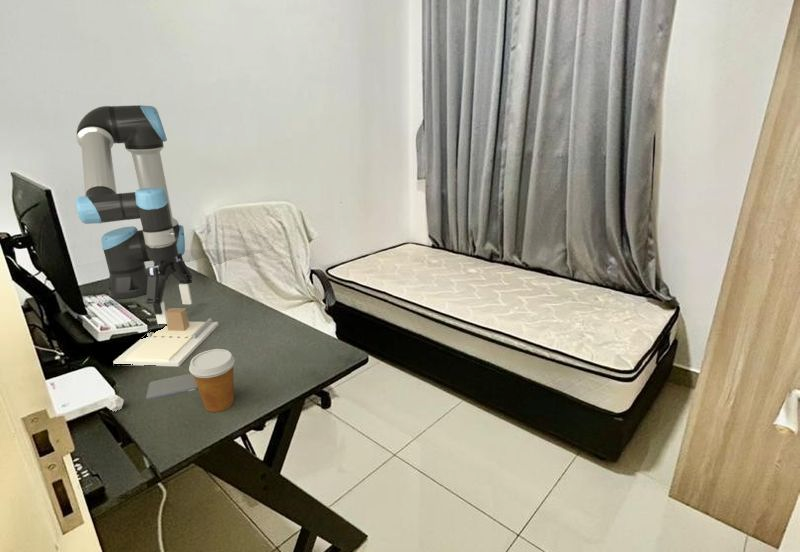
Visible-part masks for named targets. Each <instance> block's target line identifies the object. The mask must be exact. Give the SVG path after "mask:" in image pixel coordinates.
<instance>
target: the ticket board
mask: <svg viewBox="0 0 800 552" xmlns="http://www.w3.org/2000/svg"><path fill="white" fill-rule="evenodd" d="M189 323H204V324H203V325H202V326H201V327H200V328H199V329H198V330H197V331H196V332H195V333H194V334H193V335H192V337H172V336H170V337H165V336H152V334H153V333H154V332H150V331H149V332H150V333H149V332H147V333H146V334H147V336H148V337H146V338H143V337H142V338H143V339H141V338H140V339H139V340H137V341H136V342H135V343H134V344H132V345H131V346H130V347H129V348H127V349H126V350H125V351H124V352H123V353H122V354H121V355H119V356H118V357H117V358H115V359H114V360H113V361H112V362H113V365H114V364H131V365H130V366H144V365H156V366H155V367H181V364H182V363H184V362H185V360H186V359H187V358H188V357H190V355H191V354H193V352H194V351H195V350H196V349H197V348H198V347H199V346H200V345H201V344H202V343H203V342H204V341H206V339H207V338H208V337H209V336H210V335H211V333H213V331H214V330H216V328H217V327H218V326H219V325H220V324H219V321H213V318H212V317H211V318H210V317H209V318H207V320H206V321H189ZM132 364H133V365H132Z"/></svg>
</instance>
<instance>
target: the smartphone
mask: <svg viewBox="0 0 800 552" xmlns="http://www.w3.org/2000/svg"><path fill="white" fill-rule="evenodd" d="M191 391H198V387H197V385H196V382H195V379H194V377H193V375H192V373H191V372H190V373H186V374H182V375H176V376H172V377H167V378H162V379H158V380H156V379H155V380H152V381H150V382H149V383H148V386H147V391H146V395H145V400H153V399H158V398H163V397H167V396H173V395H178V394H182V393H187V392H191Z"/></svg>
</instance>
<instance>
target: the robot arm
mask: <svg viewBox="0 0 800 552" xmlns="http://www.w3.org/2000/svg"><path fill="white" fill-rule="evenodd" d="M162 123H163V122H162V120H161V117H160V114H159V111H158V110H157V108H156V107H155V106H153V105H144V104H143V105H141V104H140V105H138V104H137V105H104V106H103V105H102V106H99V107H96V108H93V109H91V110H90V111H89V112H87V113H86V114H84V117H83V118H82V119H81V120H80V122H79V123H78V126H77V129H76V141H77V144H78V145H79V146H80V148H81V157H82V170H83V181H84V182H83V183H84V195H83V196H78V197H77V198H76V199H75V207H76V211H77V215H78V217H79V221H81V222H82V223H83V224H85V225H89V224H103V223H110V222H111V223H112V222H120V221H126V220H127V221H129V220H138V219H139V220H140V222H141V226H142V229H140V230H138V228H137V226H132V225H131V226H124V227H120V228H115V229H113V230H110V231H108V232H106V233H104V234H103V235H102V237H101V245H102V246H101V247H102V248H101V249H102V250H103V253H104V257H105V261H106V264H107V269H108V273H109V276H108V286H107V291H108V295H109V297H110V296H111V298H114V299H129V298H135V297H140V296H143V295H145V294H146V295H145V298H146V299H145V303H146V304H147V305H152V306H153V307H152V308H153V311H154V314H155V318H156V323H157V325H159V324H167V323H168V319H167V314H166V311H167V310H166V305H165V301H162V300H163V296H164V291H165V286H166V283H167V281H168V280H169V277H170V276H173V277H174V278H175V279H176V281H178V282H179V284H178V289H179V293H180V294H179V295H180V298H181V302H182V305H193V300H192V299H193V298H192V295H191V294H192V293H191V290H190V284H192V283H193V276H192V274H191V272H190V270H189V268H188V267H187V265H186V263H185V261H184V258H183V255H184V254H185V252H186V241H185V240H186V239H185V228H184V226H183V225H181V224H179V221H178V220H177V219H175V217H173V212H172V208H171V202H170V198H169V192H168V187H167V181H166V177H165V176H166V175H165V172H164V167H163V162H162V156H161V151H162V150H163V149H164V148H165V147H164V143H165V142H167V141H168V138H167V136H166V132H165V128H164V126H163V124H162ZM114 144H124V149H126V151H128V152H129V153H130V154H131V156H132V160H133V161H132V162H133V164H134V165H133V166H134V171H135V174H136V178H137V184H138V187H139V189H137V190H136V191H133V192H131V191H130V192H121V193H120V192H119V193H117V186H116V179H115V172H114V164H113V156H112V148H113V146H114ZM146 262H153V267H146V264H145V263H146Z"/></svg>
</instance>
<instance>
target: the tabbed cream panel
mask: <svg viewBox="0 0 800 552" xmlns="http://www.w3.org/2000/svg"><path fill="white" fill-rule="evenodd" d="M166 314H167V319H168V323H167V326H165V327H164V328H163V329H161V330H158V331H156V332H155V333H153V334H152V336H165V337H170V336H172V337H192V335H193V334H194V333H195V332H196V331H197V330H198V329H199V328H200V327H201V326H202V325H203V324H204V323H189V322H190V321H189V317H188V312H187V308H186V307H185V308H184V307H183V308H182V307H177V308H176V307H169V308H168V309H167V310H166Z"/></svg>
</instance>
